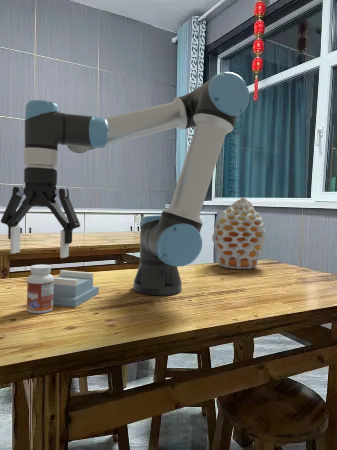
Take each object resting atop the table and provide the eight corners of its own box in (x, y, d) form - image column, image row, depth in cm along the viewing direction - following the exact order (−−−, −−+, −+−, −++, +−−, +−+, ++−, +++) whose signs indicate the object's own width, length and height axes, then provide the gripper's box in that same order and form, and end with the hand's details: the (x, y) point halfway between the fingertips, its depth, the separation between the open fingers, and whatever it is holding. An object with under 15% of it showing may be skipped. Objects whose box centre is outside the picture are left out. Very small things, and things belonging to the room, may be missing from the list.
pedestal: (98, 293, 107) (98, 271, 107) (75, 307, 94) (76, 282, 93) (61, 289, 110) (62, 268, 110) (34, 302, 97) (34, 278, 96)
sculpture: (253, 274, 142) (256, 197, 140) (202, 267, 154) (205, 195, 152) (269, 266, 160) (273, 198, 158) (223, 260, 172) (226, 196, 170)
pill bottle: (22, 310, 90) (22, 265, 89) (44, 304, 95) (44, 262, 94) (35, 315, 86) (35, 269, 86) (58, 310, 91) (58, 266, 90)
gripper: (95, 170, 89) (92, 256, 90) (6, 168, 95) (5, 249, 96) (80, 167, 81) (78, 261, 83) (-15, 165, 87) (-15, 252, 89)
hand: (39, 255), depth 90 cm, fingers open, 13 cm apart
